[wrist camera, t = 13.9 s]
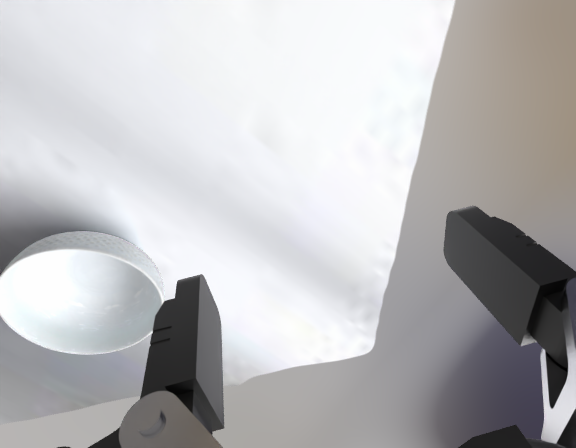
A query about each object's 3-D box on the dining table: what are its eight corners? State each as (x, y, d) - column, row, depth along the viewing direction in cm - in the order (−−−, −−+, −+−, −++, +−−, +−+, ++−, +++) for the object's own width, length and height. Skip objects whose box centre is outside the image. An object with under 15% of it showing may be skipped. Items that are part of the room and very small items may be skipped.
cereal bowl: (31, 311, 47) (6, 356, 41) (13, 203, 39) (-23, 240, 33) (165, 316, 51) (159, 357, 46) (174, 220, 43) (168, 255, 37)
